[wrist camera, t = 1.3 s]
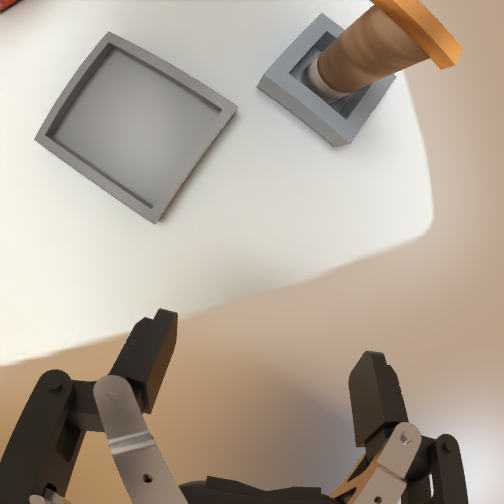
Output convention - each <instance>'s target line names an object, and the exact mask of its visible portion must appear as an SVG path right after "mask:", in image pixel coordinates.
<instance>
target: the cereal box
mask: <svg viewBox="0 0 504 504" xmlns="http://www.w3.org/2000/svg"><path fill="white" fill-rule="evenodd" d="M17 1H19V0H0V12H1V11H3V10H5V9H7V8H8V7H10V6H11V5H13V4H14V3H15V2H17Z"/></svg>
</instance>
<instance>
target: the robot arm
mask: <svg viewBox="0 0 504 504" xmlns="http://www.w3.org/2000/svg"><path fill="white" fill-rule="evenodd" d="M177 320H178V314H177V313H176V312H172V311H168V310H165V309H161V308H160V309H159V310H158V311H157V313H156V315H155V317H154V319H150V318H146V317H144V318H143V319H142V320H140V321H139V322H138V323H136V324H135V326H134V328H133V330H132V331H131V333H130V336H129V337H128V339H127V341H126V344H124V347H123V348H122V350H121V352H120V354H119V356H118V358H117V360H116V362H115V363H114V365H113V367H112V369H111V371H110V373H109V374H108V375H107V376H104V377H102V378H101V379H99V380H98V381H92V382H87V381H77V380H71V378H70V377H69V375H68V374H67V373H65V372H63V371H61V370H50V371H47V372H45V373H44V374H43V375H42V376H41V377H40V379H39V381H38V382H37V384H36V386H35V388H34V390H33V392H32V394H31V396H30V398H29V400H28V402H27V403H26V406H25V408H24V410H23V412H22V414H21V416H20V418H19V420H18V422H17V424H16V427H15V429H14V431H13V433H12V435H11V438H10V440H9V442H8V445H7V447H6V450H5V452H4V454H3V457H2V459H1V462H0V504H71V503H70V502H69V501H68V500H67V499H65V494H66V491H67V487H68V484H69V481H70V477H71V474H72V471H73V468H74V465H75V462H76V459H77V456H78V453H79V450H80V447H81V445H82V442H83V439H84V436H85V433H86V431H96V432H105V433H106V436H107V439H108V442H109V447H110V450H111V453H112V456H113V458H114V461H115V464H116V466H117V469H118V471H119V474H120V476H121V478H122V480H123V483H124V485H125V487H126V490H127V492H128V494H129V496H130V498H131V500H132V502H133V504H397V502H398V500H399V498H400V497H401V504H468V496H467V489H466V482H465V476H464V470H463V465H462V459H461V454H460V449H459V445H458V442H457V440H456V439H455V438H454V437H453V436H451V435H449V434H443V435H441V436H439V437H438V438H437V439H433V438H429V437H425V436H422V435H421V434H420V431H419V430H418V428H417V427H416V426H415V425H413V424H411V423H409V421H408V417H407V412H406V408H405V404H404V400H403V397H402V394H401V389H400V386H399V381H398V378H397V374H396V373H395V372H394V370H393V368H392V367H391V366H390V365H387V363H386V360H385V357H384V354H383V353H381V352H373V351H366V352H364V354H363V355H362V357H361V358H360V360H359V361H358V363H357V364H356V366H355V367H354V369H353V370H352V372H351V374H350V376H349V391H350V399H351V406H352V414H353V422H354V431H355V441H356V447H365V448H366V452H365V453H364V454H363V455H362V456H361V458H360V459H359V461H358V462H357V464H356V465H355V466H354V468H353V469H352V471H351V472H350V473H349V475H348V476H347V478H346V479H345V480H344V482H343V483H342V484H341V485H340V486H339V487H338V488H337V489H336V490H334V492H332V493H331V495H329V496H327V495H324V494H321V488H316V487H291V488H285V489H279V490H272V491H263V490H260V489H257V488H254V487H252V486H249V485H246V484H243V483H241V482H238V481H234V480H228V479H222V478H216V477H211V476H207V479H206V481H192V482H188V483H184V484H181V485H179V486H178V485H177V483H176V481H175V479H174V477H173V476H172V474H171V472H170V470H169V468H168V466H167V464H166V462H165V460H164V458H163V456H162V454H161V452H160V450H159V448H158V446H157V444H156V442H155V440H154V438H153V436H151V434H150V432H149V430H148V428H147V426H146V423H145V421H144V418H143V416H142V415H143V412H144V413H148V414H151V412H152V409H153V406H154V403H155V400H156V397H157V395H158V392H159V389H160V386H161V384H162V381H163V378H164V376H165V373H166V370H167V367H168V365H169V362H170V359H171V357H172V354H173V351H174V348H175V344H176V338H177V337H176V336H177ZM431 474H432V480H433V489H434V493H433V497H432V498H431V488H430V479H429V475H431Z"/></svg>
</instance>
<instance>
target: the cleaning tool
mask: <svg viewBox="0 0 504 504" xmlns="http://www.w3.org/2000/svg"><path fill="white" fill-rule="evenodd" d="M370 1H371V2H372V3H374V4H375V5H373V6H372V7H371V8H370V9H369V10H368V11H366V12H365V13H364V14H363V15H362V16H361V17H359V18H358V19H357V20H356V21H355V22H354V23H353V24H352V25H351V26H349V27H348V28H347V29H346V30H345V31H344V32H343V33H342V34H341V35H340V36H338V37H337V38H336V39H335V40H334V41H333V42H332V43H331V44H330V45H329V46H328V47H327V48H326V49H325V50H324V51H323V52H322V53H321V54H320V55H319V56H318V57H316V58H315V59H314V60H313V61H312V62H311V63H310V64H309V65H308V66H307V67H306V68H305V69H304V71H303V72H302V75H301V83H302V84H303V85H305V86H306V87H307V88H309V89H310V90H311V91H312V92H314V93H315V94H316V95H317V96H319V97H320V98H321V99H322V100H324V101H325V102H326V103H327V104H331V103H334V102H336V101H338V100H340V99H341V98H343V97H345V96H347V95H349V94H351V93H353V92H355V91H357V90H359V89H361V88H364V87H366V86H368V85H370V84H372V83H374V82H376V81H378V80H380V79H383V78H385V77H387V76H389V75H391V74H394V73H396V72H398V71H400V70H403V69H405V68H407V67H409V66H412V65H414V64H416V63H419V62H421V61H423V60H426V59H429V58H431V59H432V60H433V61H434V62H435V64H436V65H437V66H438V67H439V68H440V69H445V68H448V67H451V66H454V65H456V62H457V61H458V59H459V56H460V54H461V53H462V50H463V48H462V47H461V46H460V45H459V43H458V42H457V41H456V40H455V39H454V37H453V36H452V35H451V34H450V33H449V32H448V31H447V29H446V28H445V27H444V26H443V25H442V24H441V23H440V22H439V21H438V20H437V19H436V18H435V16H434V15H433V14H432V13H431V12H430V11H429V10H428V9H427V8H426V7H425V6H424V5H422V3H421V2H419V1H418V0H370Z"/></svg>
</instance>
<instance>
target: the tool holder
mask: <svg viewBox="0 0 504 504" xmlns="http://www.w3.org/2000/svg"><path fill="white" fill-rule="evenodd" d="M344 31H345V30H344V29H342V28H341V27H340V26H339V25H337V24H336V23H335V22H333V21H332V20H331V19H329V18H328V17H327V16H325V15H324V14H322V13H321V14H320V15H319V16H318V17H317V18H316V19H315V20H314V21H313V22H312V23H311V24H310V25H309V26H308V27H307V28H306V29H305V30H304V31H303V32H302V33H301V34H300V35H299V37H298V38H297V39H296V40H295V41H294V42H293V43H292V44H291V45H290V46H289V47H288V48H287V49H286V50H285V51H284V53H283V54H282V55H281V56H280V57H279V58H278V59H277V60H276V61H275V62H274V64H273V65H272V66H271V67H270V68H269V69H268V70H267V72H266V73H265V74H264V75H263V77H262V78H261V80H260V82H259V84H258V85H257V88H259V89H260V90H261V91H263V92H264V93H266V94H267V95H268V96H270V97H271V98H273V99H274V100H275V101H277V102H278V103H279V104H281V105H282V106H283V107H285V108H286V109H287V110H289V111H290V112H291V113H293V114H294V115H295V116H296V117H298V118H299V119H300V120H302V121H303V122H304V123H305V124H307V125H308V126H309V127H310V128H312V129H313V130H314V131H315V132H316V133H318V134H319V135H320V136H321V137H322V138H324V139H325V140H326V141H327V142H328V143H330V144H331V145H332V146H333V147H334V146H340V145H345V144H350V143H351V142H352V140H353V139H354V137H355V136H356V135H357V133H358V132H359V130H360V129H361V127H362V126H363V125H364V123H365V122H366V120H367V119H368V117H369V116H370V114H371V113H372V112H373V110H374V109H375V107H376V106H377V104H378V103H379V102H380V100H381V99H382V97H383V96H384V94H385V93H386V91H387V90H388V88H389V87H390V86H391V84H392V83H393V81H394V80H395V78H396V76H395V75H394V74H391V75H389V76H387V77H385V78H383V79H380V80H378V81H376V82H374V83H372V84H370V85H368V86H366V87H364V88H361V89H359V90H357V91H356V92H355V93H354V94H353V96H352V97H351V98H350V100H349V101H348V102H347V104H346V105H345V106H344V108H343V109H342V110H341V112H340V113H338V112H337V111H335V110H334V109H333V108H332V107H331V106H330V105H328V104H327V103H326V102H325V101H324V100H322V99H321V98H320V97H319V96H317V95H316V94H315V93H314V92H312V91H311V90H310V89H309V88H307V87H306V86H305V85H303V84H302V83H301V82H300V81H298V80H297V79H296V78H294V77H293V76H292V75H290V74H289V72H290V71H291V70H292V69H293V68H294V66H295V65H296V64H297V63H298V62H299V61H300V60H301V59H302V57H303V56H304V55H305V54H306V53H307V52H308V51H309V50H310V48H311V47H312V46H313V45H314V46H316V47H317V48H318V49H320V50H321V51H322V52H323V51H324V50H325V49H326V48H327V47H328V46H329V45H330V44H331V43H332V42H333V41H334V40H335V39H336V38H337V37H338V36H340V35H341V34H342V33H343V32H344Z"/></svg>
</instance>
